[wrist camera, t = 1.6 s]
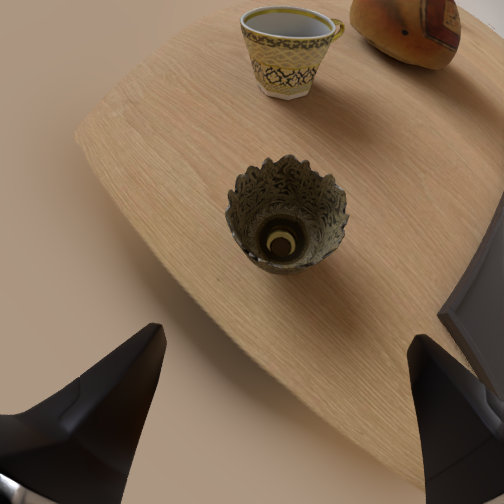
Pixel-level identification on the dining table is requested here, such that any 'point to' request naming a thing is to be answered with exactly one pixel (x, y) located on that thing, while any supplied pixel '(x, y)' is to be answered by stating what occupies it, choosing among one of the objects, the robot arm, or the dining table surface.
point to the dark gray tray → (482, 308)
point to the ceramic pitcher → (410, 29)
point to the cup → (286, 214)
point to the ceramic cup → (287, 47)
